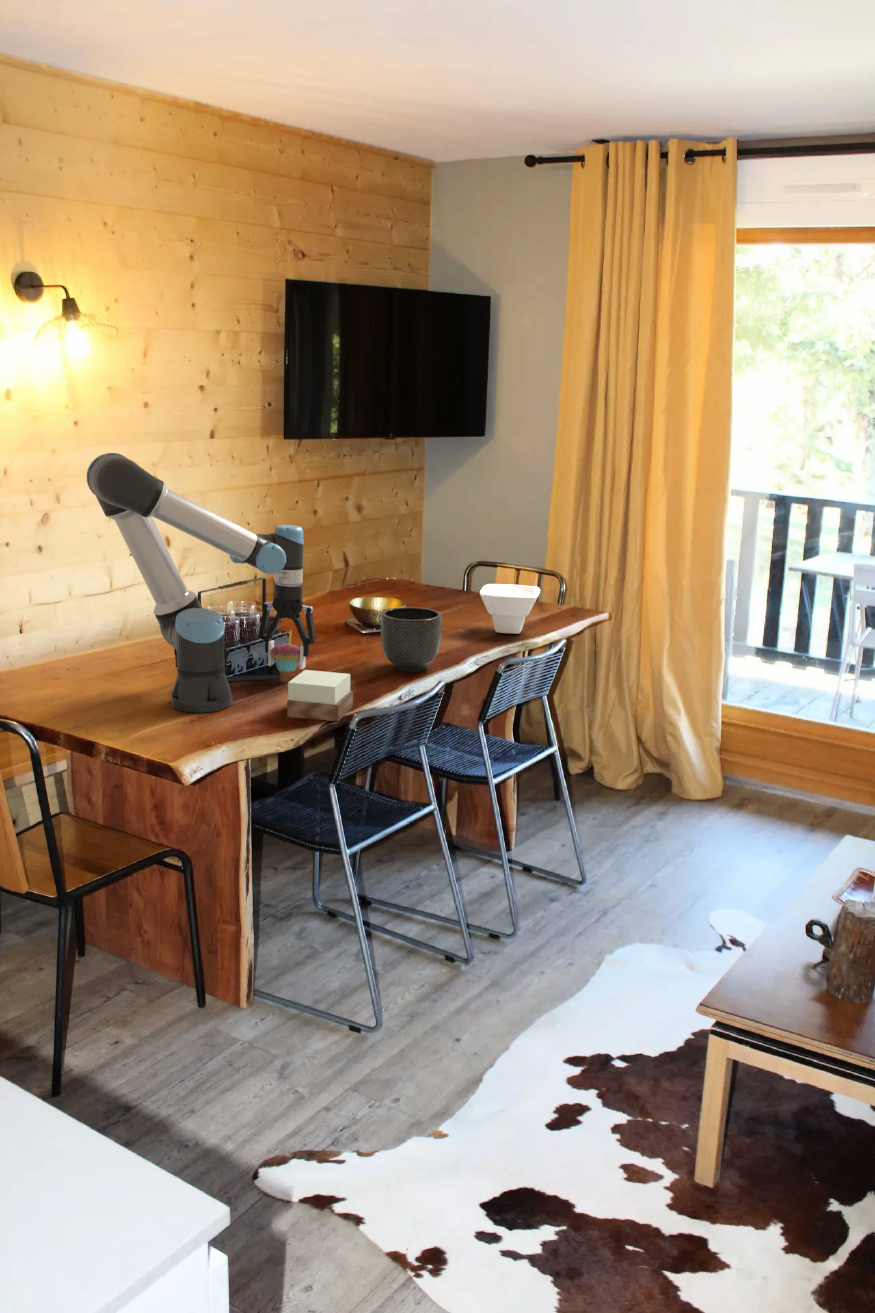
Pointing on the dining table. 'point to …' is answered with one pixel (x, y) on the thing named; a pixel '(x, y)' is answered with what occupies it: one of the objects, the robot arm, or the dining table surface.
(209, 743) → the dining table surface
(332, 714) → the tower base block
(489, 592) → the bowl
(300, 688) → the tower top block
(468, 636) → the dining table surface
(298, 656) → the cupcake
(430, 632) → the planter
